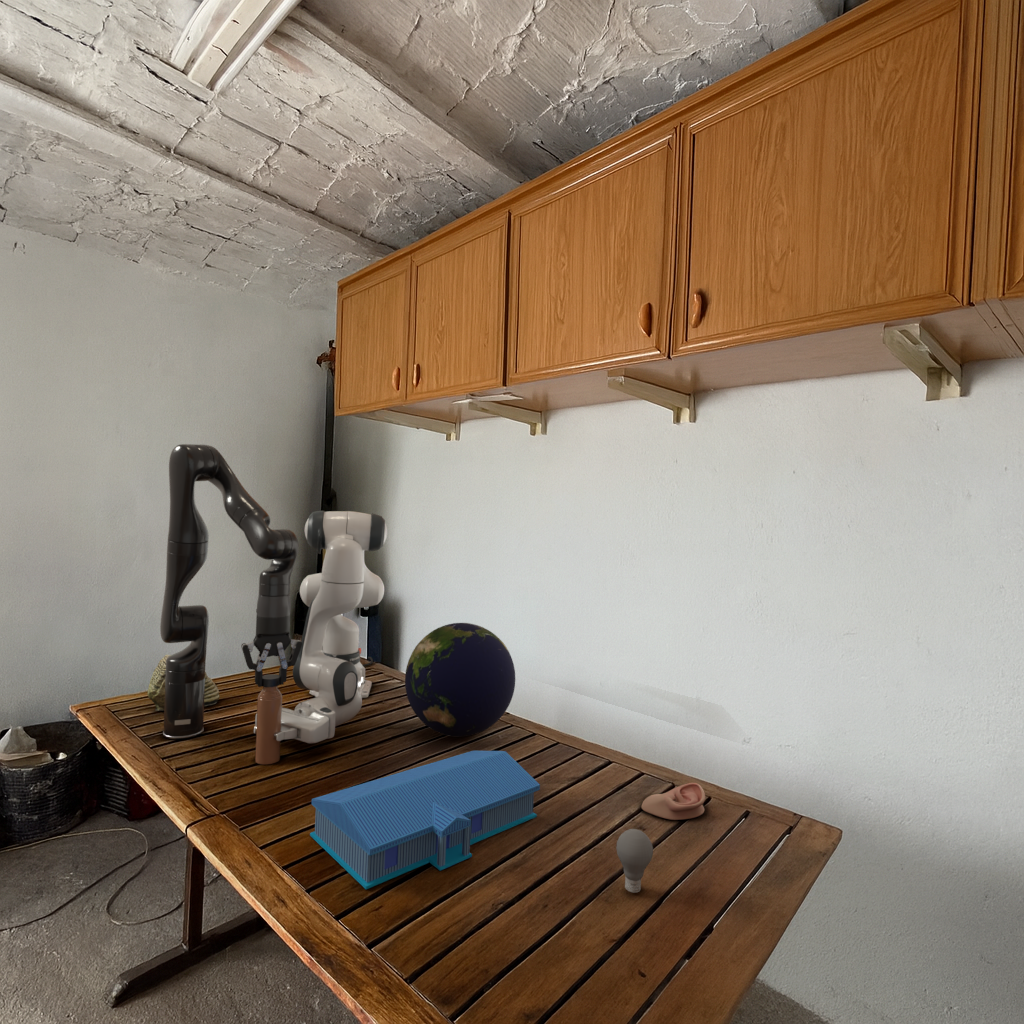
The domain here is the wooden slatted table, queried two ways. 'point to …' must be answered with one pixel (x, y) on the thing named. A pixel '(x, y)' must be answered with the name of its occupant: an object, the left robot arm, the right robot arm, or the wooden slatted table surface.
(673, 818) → the anatomical model
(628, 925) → the wooden slatted table surface
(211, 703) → the fossil
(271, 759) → the bottle
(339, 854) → the model building
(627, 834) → the light bulb
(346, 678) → the right robot arm
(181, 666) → the left robot arm
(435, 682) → the globe
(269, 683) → the cap
